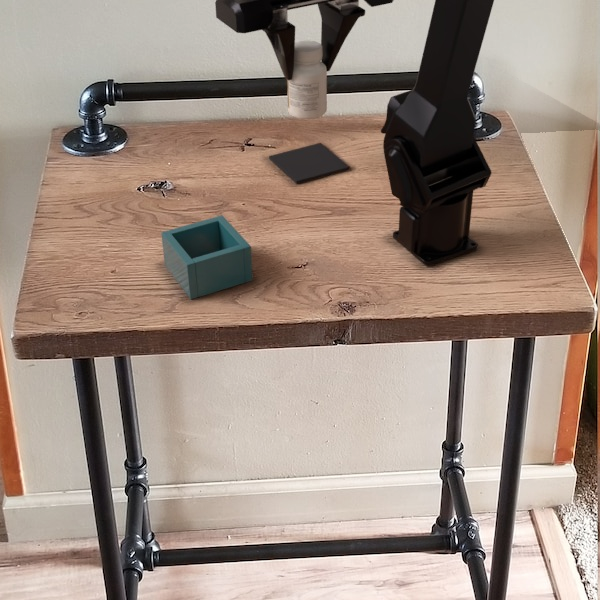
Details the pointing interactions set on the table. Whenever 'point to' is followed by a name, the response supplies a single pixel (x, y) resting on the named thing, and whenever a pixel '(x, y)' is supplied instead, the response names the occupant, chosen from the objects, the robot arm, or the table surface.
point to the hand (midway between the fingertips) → (307, 74)
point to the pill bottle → (307, 82)
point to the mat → (309, 163)
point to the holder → (207, 256)
